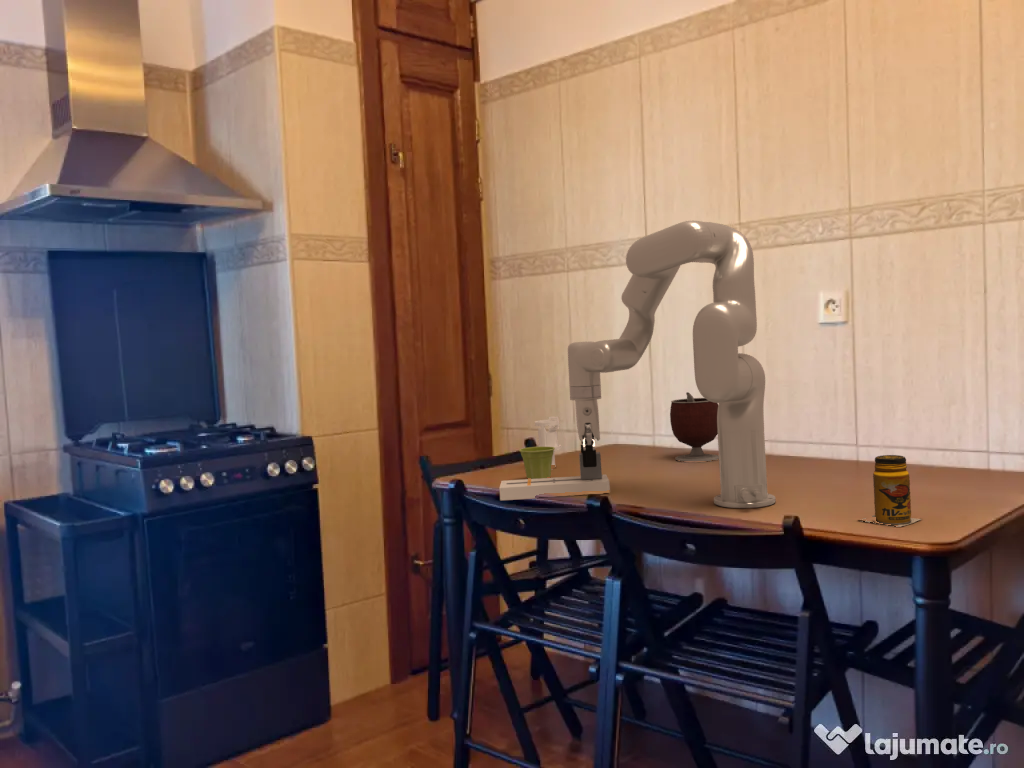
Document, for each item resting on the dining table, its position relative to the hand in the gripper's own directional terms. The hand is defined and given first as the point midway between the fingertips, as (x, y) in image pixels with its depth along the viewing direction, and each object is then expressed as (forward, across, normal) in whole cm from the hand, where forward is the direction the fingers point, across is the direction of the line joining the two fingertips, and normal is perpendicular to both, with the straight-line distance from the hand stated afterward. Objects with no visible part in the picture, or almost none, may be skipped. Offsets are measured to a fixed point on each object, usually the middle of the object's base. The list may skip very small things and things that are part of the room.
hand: (588, 463), depth 205 cm
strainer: (+7, +39, +10) cm, 41 cm away
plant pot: (+7, +19, +13) cm, 24 cm away
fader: (+3, 0, 0) cm, 4 cm away
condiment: (+6, -47, -52) cm, 71 cm away
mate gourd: (+7, +39, -32) cm, 51 cm away
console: (+7, 0, +9) cm, 11 cm away
